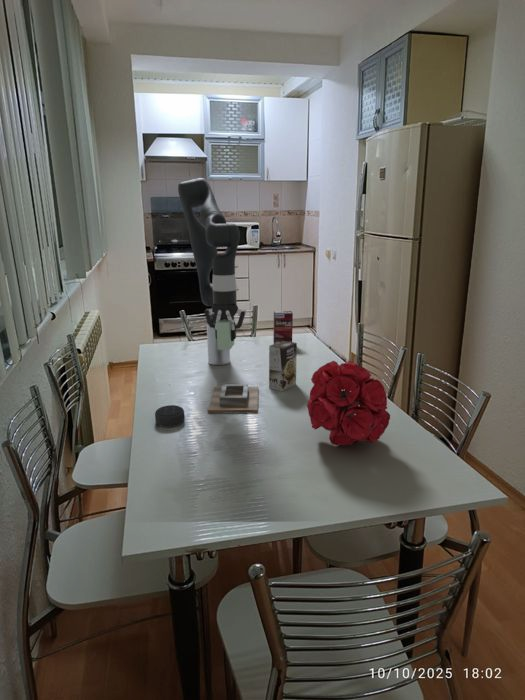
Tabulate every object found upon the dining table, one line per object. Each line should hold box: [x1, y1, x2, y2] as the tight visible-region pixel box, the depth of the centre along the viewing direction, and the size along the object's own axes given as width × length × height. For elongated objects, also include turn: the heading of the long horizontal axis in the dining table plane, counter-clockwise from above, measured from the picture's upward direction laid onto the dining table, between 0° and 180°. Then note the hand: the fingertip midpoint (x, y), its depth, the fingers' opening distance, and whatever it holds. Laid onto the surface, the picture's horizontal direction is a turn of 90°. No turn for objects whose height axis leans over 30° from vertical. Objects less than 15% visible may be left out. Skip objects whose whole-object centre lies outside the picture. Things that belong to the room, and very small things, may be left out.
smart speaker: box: [154, 404, 186, 428], centre depth 147 cm, size 9×9×4 cm
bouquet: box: [306, 360, 391, 446], centre depth 134 cm, size 22×24×30 cm
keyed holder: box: [207, 383, 259, 414], centre depth 162 cm, size 20×16×4 cm
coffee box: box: [268, 341, 298, 392], centre depth 172 cm, size 9×6×16 cm
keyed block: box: [217, 319, 235, 351], centre depth 155 cm, size 4×7×9 cm, turn 170°
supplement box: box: [272, 310, 294, 344], centre depth 223 cm, size 9×5×16 cm, turn 95°
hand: (226, 340), depth 156 cm, fingers closed on keyed block, 4 cm apart
